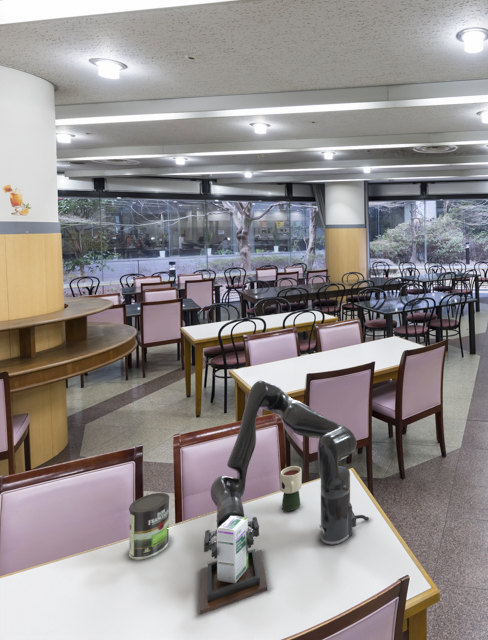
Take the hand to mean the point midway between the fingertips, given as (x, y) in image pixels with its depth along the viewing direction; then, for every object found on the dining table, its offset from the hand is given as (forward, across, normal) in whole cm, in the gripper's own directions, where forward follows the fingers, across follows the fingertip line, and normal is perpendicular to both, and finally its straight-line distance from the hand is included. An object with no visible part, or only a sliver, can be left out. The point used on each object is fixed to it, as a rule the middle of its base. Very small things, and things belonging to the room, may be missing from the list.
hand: (233, 549), depth 118 cm
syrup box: (-2, 0, +8) cm, 8 cm away
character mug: (-29, +20, +10) cm, 36 cm away
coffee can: (-29, -22, +10) cm, 38 cm away
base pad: (-2, 0, +10) cm, 10 cm away
